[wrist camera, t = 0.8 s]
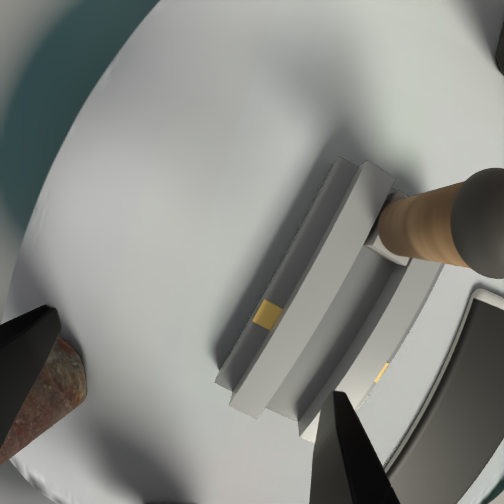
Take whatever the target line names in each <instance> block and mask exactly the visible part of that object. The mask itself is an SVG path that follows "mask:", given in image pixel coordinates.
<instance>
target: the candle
mask: <svg viewBox="0 0 504 504" xmlns="http://www.w3.org/2000/svg"><path fill="white" fill-rule="evenodd" d="M86 395H87V388H86V378H85V372H84V368H83V364H82V361H81V359H80V357H79V355H78V354H77V353H76V352H75V350H74V349H73V347H72V346H71V345H70V344H68V343H67V342H65V341H64V340H63V339H61V338H60V337H59V336H58V338H57V340H56V342H55V344H54V346H53V348H52V350H51V352H50V355H49V357H48V359H47V361H46V363H45V365H44V367H43V369H42V371H41V373H40V374H39V376H38V378H37V380H36V381H35V383H34V385H33V387H32V389H31V390H30V392H29V394H28V396H27V398H26V400H25V401H24V403H23V405H22V407H21V409H20V411H19V413H18V415H17V417H16V419H15V421H14V423H13V425H12V427H11V429H10V431H9V433H8V435H7V437H6V439H5V441H4V443H3V446H2V448H1V450H0V466H1V465H2V464H3V463H4V462H6V461H7V460H9V459H10V458H11V457H12V456H14V455H15V454H16V453H18V452H19V451H20V450H21V449H23V448H24V447H25V446H27V445H28V444H29V443H30V442H32V441H33V440H34V439H35V438H37V437H38V436H39V435H41V434H42V433H43V432H45V431H46V430H47V429H49V428H50V427H51V426H53V425H54V424H55V423H57V422H58V421H59V420H61V419H62V418H63V417H64V416H66V415H67V414H68V413H70V412H71V411H72V410H73V409H75V408H76V407H77V406H78V405H80V404H81V403H82V402H83V401H84V400H85V397H86Z"/></svg>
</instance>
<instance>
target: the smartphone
mask: <svg viewBox="0 0 504 504" xmlns="http://www.w3.org/2000/svg"><path fill="white" fill-rule="evenodd" d="M503 438H504V298H503V297H501V296H499V295H496V294H494V293H492V292H489V291H487V290H485V289H481V288H478V289H476V290H474V292H473V293H472V295H471V297H470V300H469V303H468V306H467V308H466V311H465V314H464V317H463V319H462V322H461V325H460V327H459V330H458V332H457V335H456V337H455V340H454V342H453V345H452V347H451V349H450V352H449V354H448V356H447V359H446V361H445V363H444V365H443V367H442V370H441V372H440V374H439V376H438V378H437V380H436V382H435V384H434V386H433V388H432V390H431V392H430V394H429V396H428V398H427V400H426V402H425V404H424V405H423V407H422V409H421V411H420V413H419V414H418V416H417V418H416V420H415V422H414V423H413V425H412V427H411V428H410V430H409V432H408V433H407V435H406V437H405V438H404V440H403V442H402V443H401V445H400V446H399V448H398V449H397V451H396V452H395V454H394V456H393V457H392V459H391V460H390V462H389V463H388V464H387V466H386V467H385V469H384V471H385V473H386V475H387V477H388V479H389V481H390V483H391V487H393V489H394V491H395V493H396V495H397V497H398V499H399V501H400V503H401V504H457V503H458V501H459V500H460V499H461V498H462V497H463V495H464V494H465V493H466V492H467V490H468V489H469V488H470V486H471V485H472V484H473V482H474V481H475V480H476V478H477V477H478V476H479V474H480V473H481V472H482V470H483V469H484V467H485V466H486V464H487V463H488V462H489V460H490V459H491V457H492V456H493V454H494V453H495V451H496V449H497V448H498V446H499V445H500V443H501V441H502V440H503Z"/></svg>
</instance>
